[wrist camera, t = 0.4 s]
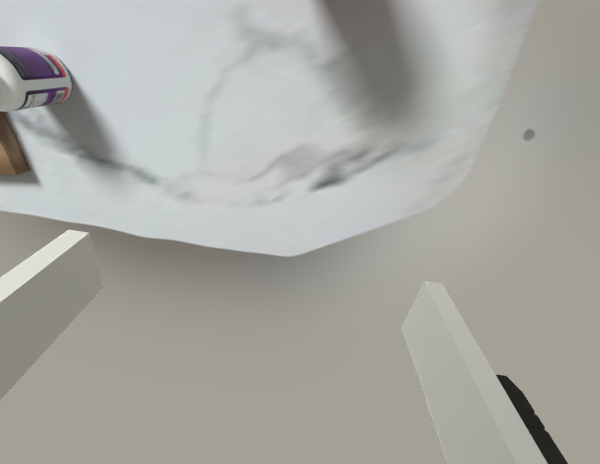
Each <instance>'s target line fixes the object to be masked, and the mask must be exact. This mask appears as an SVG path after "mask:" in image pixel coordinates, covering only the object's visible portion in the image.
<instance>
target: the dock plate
mask: <svg viewBox="0 0 600 464" xmlns="http://www.w3.org/2000/svg"><path fill="white" fill-rule="evenodd" d="M29 170H30V169H29V167H28V164H27V162H26V160H25V158H24V156H23V154H22V151H21V149H20V147H19V145H18V143H17V140H16V138H15V136H14V134H13V132H12V130H11V127H10V125H9V123H8V121H7V119H6V116H5V114H4V112H2V111H0V175H18V174H21V173H23V172H26V171H29Z"/></svg>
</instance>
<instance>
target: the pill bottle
mask: <svg viewBox="0 0 600 464" xmlns="http://www.w3.org/2000/svg"><path fill="white" fill-rule="evenodd" d="M71 90H72V82H71V78H70V75H69V73H68V71H67V69H66V68H65V66H64V65H63V64H62V62H61V61H60V60H59V59H58V58H57V57H55V56H54V55H53V54H51V53H50V52H48V51H45V50H43V49H39V48H30V47H0V111H2V112H8V111H16V110H21V109H27V108H32V107H38V106H44V105H49V104H55V103H59V102H62V101H65V100H66V99H67V98H68V97H69V96H70V94H71Z"/></svg>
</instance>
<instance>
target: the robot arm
mask: <svg viewBox="0 0 600 464" xmlns="http://www.w3.org/2000/svg"><path fill="white" fill-rule="evenodd" d="M102 288H103V285H102V281H101V277H100V273H99V269H98V265H97V261H96V257H95V253H94V249H93V245H92V241H91V237H90V233H87V232H81V231H74V230H68V231H66V232H65V233H63V234H62V235H60V236H59V237H58V238H56V239H55V240H53V241H52V242H51V243H49V244H48V245H46V246H45V247H43V248H42V249H41V250H39V251H38V252H36V253H35V254H33V255H32V256H31V257H29V258H28V259H26V260H25V261H24V262H22V263H21V264H19V265H18V266H16V267H15V268H13V269H12V270H11V271H9V272H8V273H6V274H5V275H3V276H2V277H1V278H0V400H1V399H2V398H3V397H4V396H5V394H6V393H7V392H8V391H9V390H10V389H11V388H12V387H13V386H14V385H15V384H16V382H17V381H18V380H19V379H20V378H21V377H22V376H23V375H24V374H25V373H26V371H27V370H28V369H29V368H30V367H31V366H32V365H33V364H34V363H35V361H36V360H37V359H38V358H39V357H40V356H41V355H42V354H43V353H44V352H45V351H46V350H47V348H48V347H49V346H50V345H51V344H52V343H53V342H54V341H55V340H56V338H57V337H58V336H59V335H60V334H61V333H62V332H63V331H64V330H65V329H66V328H67V327H68V325H69V324H70V323H71V322H72V321H73V320H74V319H75V317H76V316H78V314H79V313H80V312H81V311H82V310H83V309H84V308H85V307H86V306H87V305H88V303H89V302H90V301H91V300H92V299H93V298H94V297H95V296H96V295H97V294H98V293H99V291H100V290H101V289H102ZM401 328H402V332H403V334H404V337H405V340H406V343H407V346H408V349H409V352H410V355H411V358H412V361H413V364H414V367H415V370H416V373H417V376H418V379H419V382H420V385H421V388H422V391H423V394H424V396H425V400H426V403H427V406H428V409H429V412H430V415H431V417H432V421H433V424H434V426H435V430H436V432H437V435H438V438H439V441H440V444H441V447H442V450H443V453H444V456H445V459H446V462H447V464H568V463H567V462H566V460H565V459H564V457H563V455H562V454H561V452H560V451H559V449H558V448H557V446H556V444H555V443H554V441H553V440H552V438H551V437H550V435H549V433H548V432H546V431H545V429H544V428H545V427H544V425H543V424H542V422H541V421H540V419H539V418H538V416H537V415H535V414H534V410H533V408H532V407H531V405H530V403H529V402H528V400H527V399H526V397H525V396H524V394H523V393H522V392H521V391H520V389H518V387H516V386H515V384H513V382H512V381H511V380H510V379H509V378H508V377H506V376H501V375H495V373H494V371H493V370H492V368H491V366H490V364H489V363H488V361H487V359H486V358H485V356H484V354H483V353H482V351H481V349H480V347H479V346H478V344H477V342H476V341H475V339H474V337H473V336H472V334H471V332H470V330H469V329H468V327H467V325H466V324H465V322H464V320H463V318H462V317H461V315H460V313H459V312H458V310H457V308H456V306H455V305H454V303H453V301H452V300H451V298H450V296H449V294H448V293H447V291H446V289H445V288H444V286H443V284H441V283H434V282H427V281H424V282H423V284H422V286H421V288H420V290H419V292H418V294H417V296H416V298H415V300H414V303H413V305H412V307H411V309H410V311H409V313H408V315H407V317H406V319H405V321H404V323H403V325H402V327H401Z"/></svg>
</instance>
